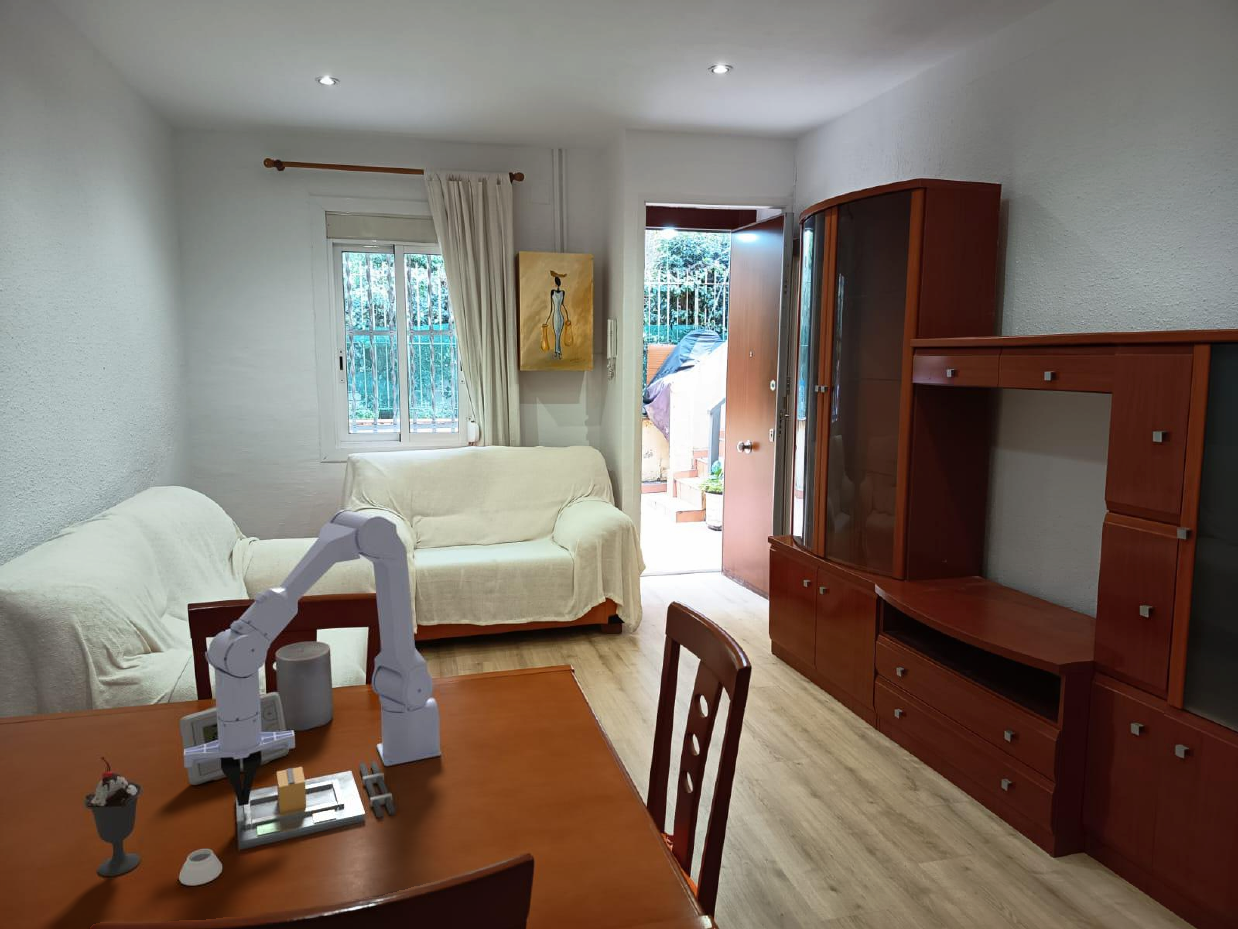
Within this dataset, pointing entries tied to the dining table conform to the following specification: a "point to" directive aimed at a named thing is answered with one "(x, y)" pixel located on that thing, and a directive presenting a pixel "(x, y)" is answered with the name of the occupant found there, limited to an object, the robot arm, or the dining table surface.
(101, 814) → the sundae
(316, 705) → the pillar candle
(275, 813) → the grey metal tray
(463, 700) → the dining table surface
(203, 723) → the digital clock
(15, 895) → the dining table surface
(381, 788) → the cable bundle
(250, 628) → the robot arm
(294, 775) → the cardboard box
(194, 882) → the white hollow cone ring
